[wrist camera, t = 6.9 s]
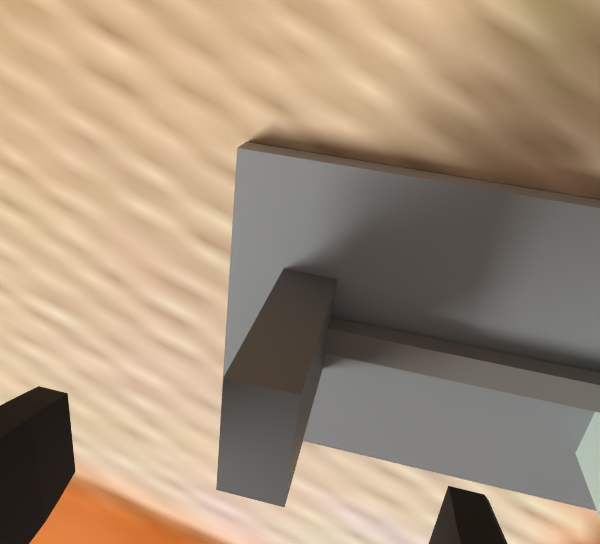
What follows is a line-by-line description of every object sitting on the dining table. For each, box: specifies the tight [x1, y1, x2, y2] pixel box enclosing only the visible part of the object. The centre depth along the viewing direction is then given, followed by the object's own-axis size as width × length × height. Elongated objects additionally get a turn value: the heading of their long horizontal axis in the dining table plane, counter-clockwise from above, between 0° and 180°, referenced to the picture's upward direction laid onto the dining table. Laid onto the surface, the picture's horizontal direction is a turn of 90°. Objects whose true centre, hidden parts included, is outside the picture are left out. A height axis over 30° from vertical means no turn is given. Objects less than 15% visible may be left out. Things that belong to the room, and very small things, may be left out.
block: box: [216, 269, 600, 518], centre depth 12 cm, size 5×14×5 cm, turn 83°
